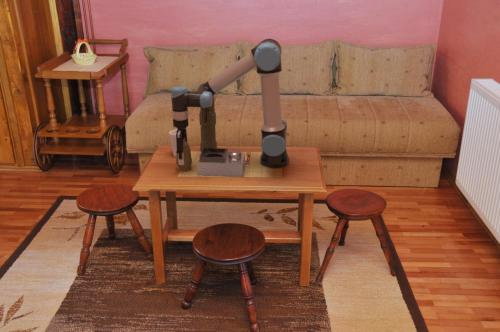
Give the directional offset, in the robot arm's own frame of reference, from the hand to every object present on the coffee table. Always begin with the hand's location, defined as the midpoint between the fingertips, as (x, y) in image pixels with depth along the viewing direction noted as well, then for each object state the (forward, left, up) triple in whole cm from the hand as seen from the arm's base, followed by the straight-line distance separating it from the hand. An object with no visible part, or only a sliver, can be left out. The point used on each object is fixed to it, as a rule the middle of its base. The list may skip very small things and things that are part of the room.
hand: (183, 161), depth 263 cm
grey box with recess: (-20, -2, -4) cm, 20 cm away
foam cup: (+6, -19, -5) cm, 20 cm away
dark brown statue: (-10, -21, -4) cm, 24 cm away
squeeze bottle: (-1, 0, -4) cm, 4 cm away
